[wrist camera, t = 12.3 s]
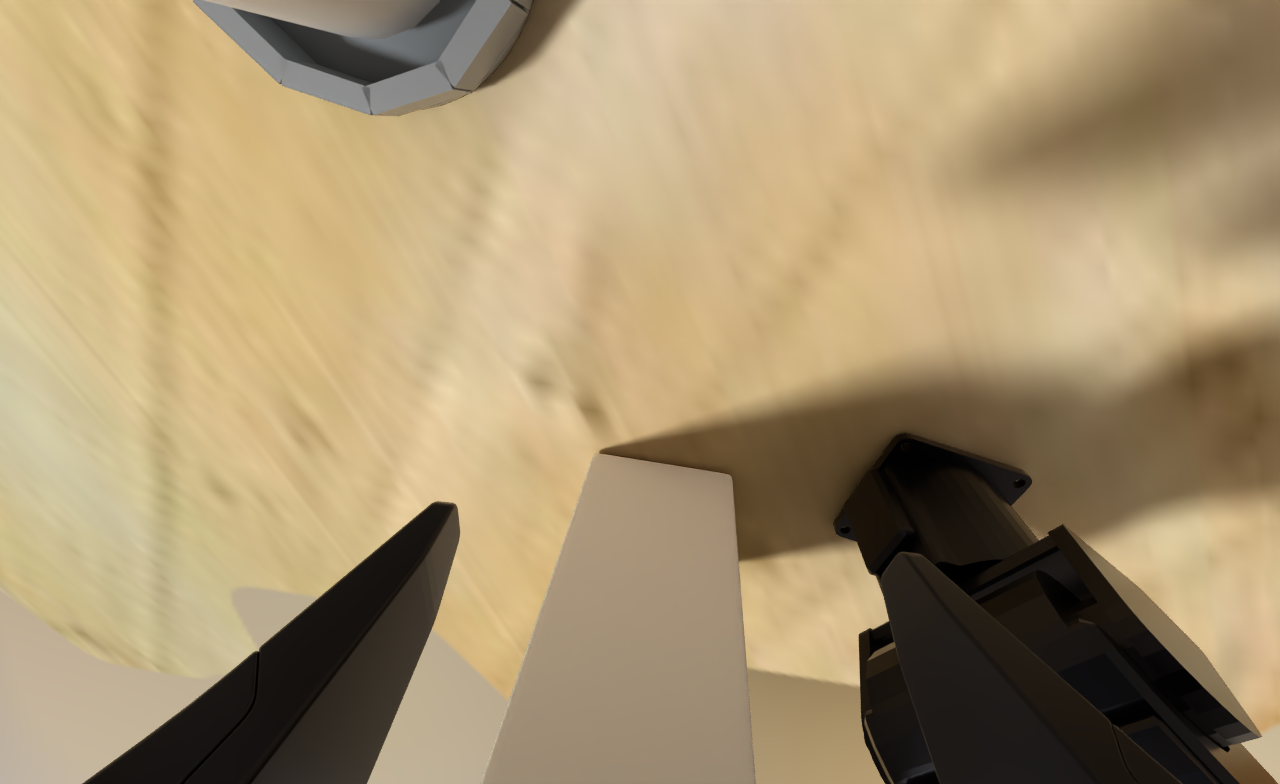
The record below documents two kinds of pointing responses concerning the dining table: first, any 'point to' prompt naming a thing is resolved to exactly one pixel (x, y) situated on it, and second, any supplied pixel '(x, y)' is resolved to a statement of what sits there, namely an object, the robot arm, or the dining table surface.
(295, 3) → the can
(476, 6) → the ring coaster
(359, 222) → the dining table surface
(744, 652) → the milk carton
